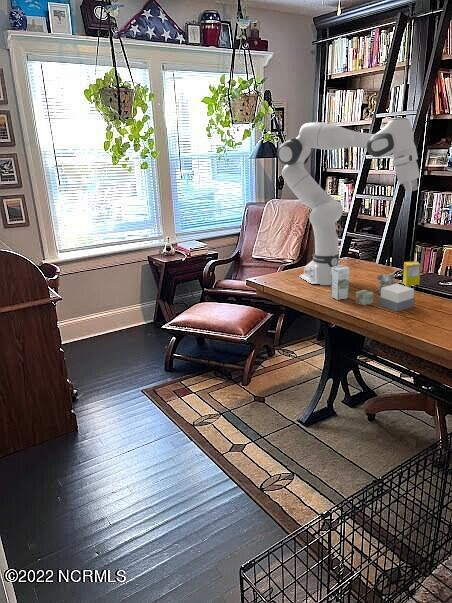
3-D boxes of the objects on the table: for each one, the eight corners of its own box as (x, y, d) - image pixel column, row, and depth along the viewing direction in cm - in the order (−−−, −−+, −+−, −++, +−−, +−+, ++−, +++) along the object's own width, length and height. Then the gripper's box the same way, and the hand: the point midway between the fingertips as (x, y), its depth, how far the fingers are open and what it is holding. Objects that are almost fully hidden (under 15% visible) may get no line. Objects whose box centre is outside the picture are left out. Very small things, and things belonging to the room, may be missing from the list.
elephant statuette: (382, 297, 200) (383, 280, 197) (368, 287, 211) (370, 272, 208) (401, 294, 201) (402, 278, 198) (387, 285, 212) (388, 269, 209)
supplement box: (415, 283, 212) (417, 261, 209) (419, 287, 207) (421, 264, 203) (402, 284, 213) (403, 261, 209) (405, 288, 207) (407, 265, 204)
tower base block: (378, 305, 191) (378, 296, 189) (395, 300, 195) (396, 291, 193) (396, 312, 182) (396, 303, 181) (414, 307, 186) (414, 298, 185)
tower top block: (380, 297, 189) (381, 287, 187) (396, 292, 192) (396, 283, 191) (397, 302, 181) (398, 293, 180) (413, 298, 185) (414, 288, 184)
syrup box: (341, 295, 205) (342, 264, 200) (349, 299, 199) (349, 267, 194) (330, 297, 203) (330, 266, 198) (337, 301, 198) (338, 269, 193)
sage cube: (355, 302, 195) (355, 291, 193) (364, 300, 197) (364, 289, 195) (363, 306, 190) (364, 295, 189) (372, 303, 192) (373, 292, 191)
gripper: (404, 158, 194) (410, 190, 197) (390, 162, 178) (397, 197, 181) (419, 154, 190) (425, 186, 193) (407, 157, 175) (414, 193, 177)
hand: (412, 191), depth 187 cm, fingers open, 8 cm apart
